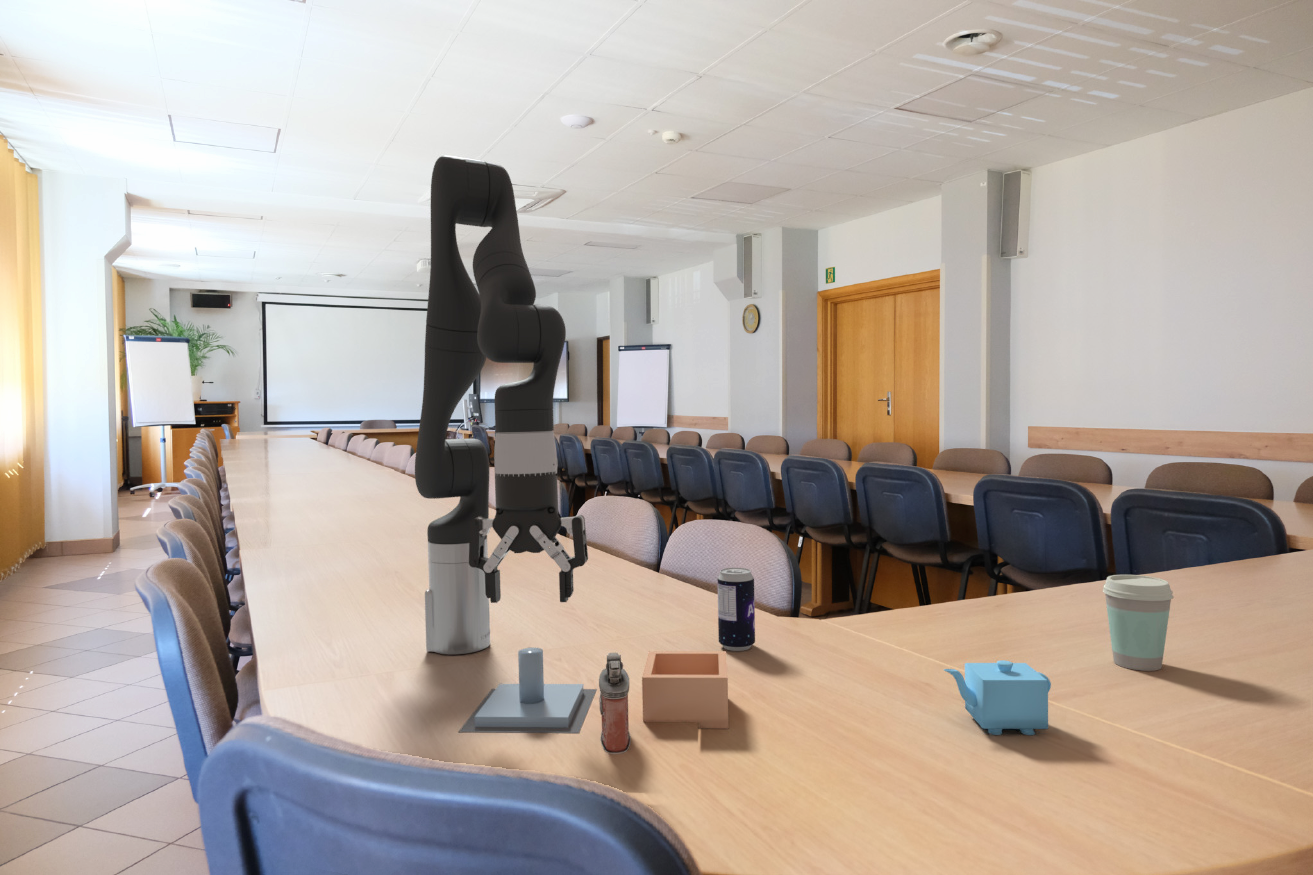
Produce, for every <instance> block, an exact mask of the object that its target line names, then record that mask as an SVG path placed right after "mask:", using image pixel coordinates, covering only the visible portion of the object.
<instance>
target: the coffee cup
mask: <svg viewBox="0 0 1313 875" xmlns="http://www.w3.org/2000/svg"><path fill="white" fill-rule="evenodd" d="M1102 592H1103V593H1104V595H1105V604H1106V612H1107V620H1108V628H1109V634H1110V643H1111V644H1110V645H1111V651H1112V659H1113V663H1114V664H1115V665H1117V666H1119V667H1122V668H1124V669H1128V670H1133V671H1134V670H1135V671H1142V672H1154V671H1155V672H1156V671H1159V670H1161V669H1162V666H1163V660H1164V653H1165V645H1166V640H1167V634H1168V632H1167V631H1168V624H1169V618H1170V610H1171V603H1172V602H1171V601H1172V599H1174V598H1175V597H1174V595H1173V594H1174V592H1173V590H1172V589H1171V584H1170V583H1169V581H1167V580H1165V579H1162V578H1159V577H1154V576H1146V575H1137V574H1113V575H1108V576H1107V577H1106V580H1105V583H1104V585H1103V589H1102Z"/></svg>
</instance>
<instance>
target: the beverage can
mask: <svg viewBox="0 0 1313 875" xmlns="http://www.w3.org/2000/svg"><path fill="white" fill-rule="evenodd" d="M755 602H756V601H755V578H754V576H753V574H752V570H751V569H749V568H747V567H746V568H744V567H725V568H722V569H720V570H719V574H718V577H717V611H718V612H717V618H718V619H717V620H718V622H717V624H718V629H717V630H718V631H717V632H718V643H719V644H720V645H721V646H722V647H723V649H725V650H727V651H732V652H743V651H747V650H749V649H751V647H752V646H753V645H754V644H755V643H756V621H755V620H756V615H755V613H756V612H755V609H756V608H755V607H756V606H755V604H756V603H755Z"/></svg>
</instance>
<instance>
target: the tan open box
mask: <svg viewBox="0 0 1313 875" xmlns="http://www.w3.org/2000/svg"><path fill="white" fill-rule="evenodd" d="M728 680H729V677H728V663H727V651H725V650H724V651H723V650H721V651H719V650H718V651H717V650H714V651H713V650H707V651H706V650H705V651H703V650H696V651H695V650H685V651H684V650H682V651H681V650H678V651H677V650H665V651H664V650H657V651H656V650H649V651H648V653H647V657H646V660H645V665H644V668H643V672H642V675H641V686H642V687H641V688H642V693H641V695H642V697H641V698H642V722H644V723H645V722H647V723H648V722H650V723H651V722H653V723H657V722H658V723H659V722H661V723H663V722H664V723H665V722H668V723H670V722H671V723H698V724H697V725H698V726H697V728H698V729H723V730H724V729H729V687H728V686H729V684H728V683H729V682H728Z"/></svg>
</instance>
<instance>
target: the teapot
mask: <svg viewBox="0 0 1313 875" xmlns="http://www.w3.org/2000/svg"><path fill="white" fill-rule="evenodd" d="M943 671H945V672H947V673H948V674H950V675H951V676H953V678H954V679H955V682H956V685H957V688H958V692H959V693H960V694H959V695H960V696H961V698H962V699H963V701H964V708H965V710H966V711H967V712H968V713H969V715H970V716H971V717H972V718H973V719H974V720H975V722H977V724H978V725H979V726H980V728H982V729H984V730H985V729H986V730H987V733H989V735H994V736H1001V735H1002V734H1003V730H1019V731H1020V733H1021V734H1023V735H1024V736H1025V735H1026V736H1034V735H1035V734H1036V732H1035V730H1048V729H1049V692H1050V690H1051V687H1052V682H1051V680H1050V679H1049V677H1048V676H1047V675H1046V674H1044V673H1043V672H1041V671H1040V672H1039V671H1037V670H1035V669H1034V668H1033V667H1031V665H1029V664H1028V663H1027V662H1013V661H1009V660H997V661H996V662H965V663H964V676H963V674H962V673H961V672H960V671H959V670H957V669H954V668H953V669H952V668H944V669H943Z"/></svg>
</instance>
